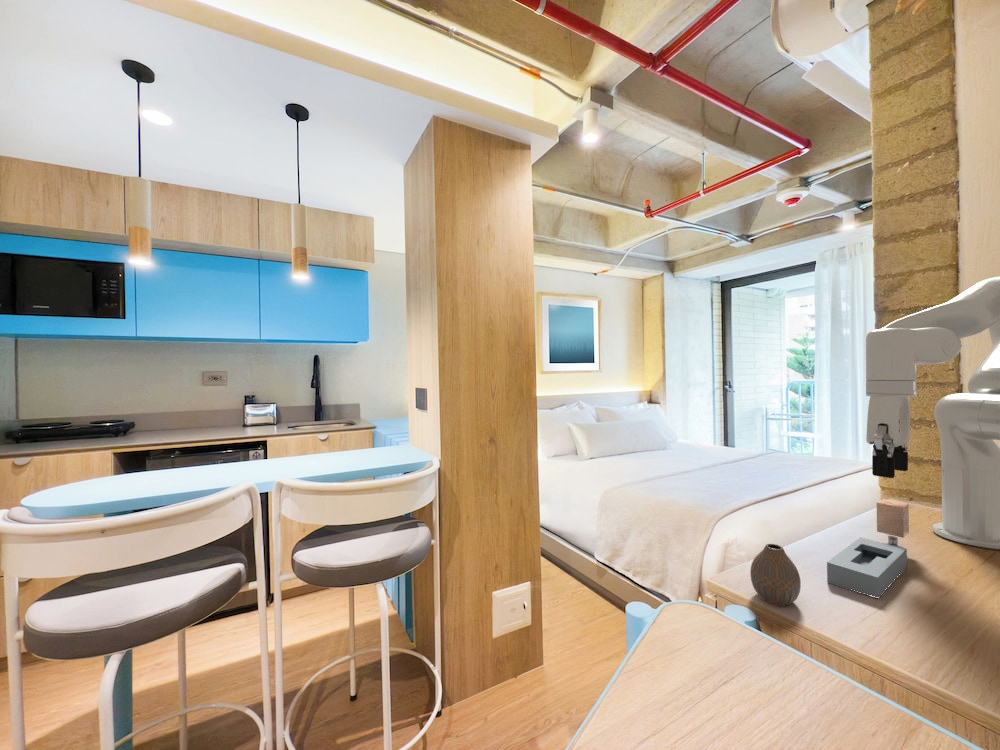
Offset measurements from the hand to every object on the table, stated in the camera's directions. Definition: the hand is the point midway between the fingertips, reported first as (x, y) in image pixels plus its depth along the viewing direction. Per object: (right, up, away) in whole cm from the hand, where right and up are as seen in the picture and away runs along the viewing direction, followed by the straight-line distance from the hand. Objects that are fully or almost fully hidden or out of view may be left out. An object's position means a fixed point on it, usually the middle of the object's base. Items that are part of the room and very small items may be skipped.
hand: (890, 473), depth 85 cm
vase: (-34, -17, -16) cm, 41 cm away
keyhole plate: (-12, -17, -9) cm, 22 cm away
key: (+1, -16, 0) cm, 16 cm away
